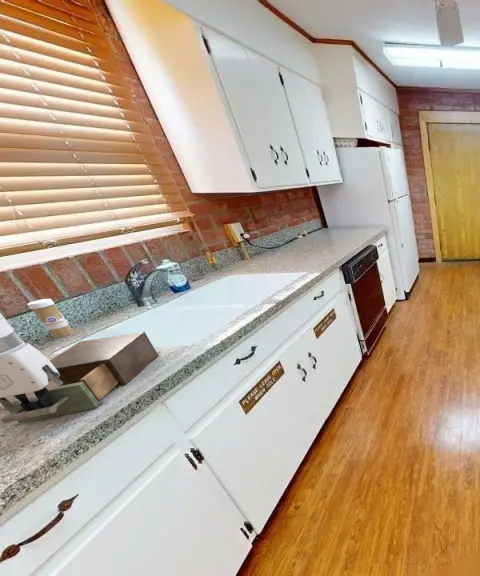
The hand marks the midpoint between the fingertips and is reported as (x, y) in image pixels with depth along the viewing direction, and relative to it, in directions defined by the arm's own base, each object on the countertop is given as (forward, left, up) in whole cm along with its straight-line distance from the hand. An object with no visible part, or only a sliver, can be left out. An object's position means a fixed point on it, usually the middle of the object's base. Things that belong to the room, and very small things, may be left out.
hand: (43, 411), depth 68 cm
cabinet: (+13, +13, -4) cm, 19 cm away
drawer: (+4, +4, -3) cm, 7 cm away
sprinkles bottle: (+17, +60, -4) cm, 62 cm away
